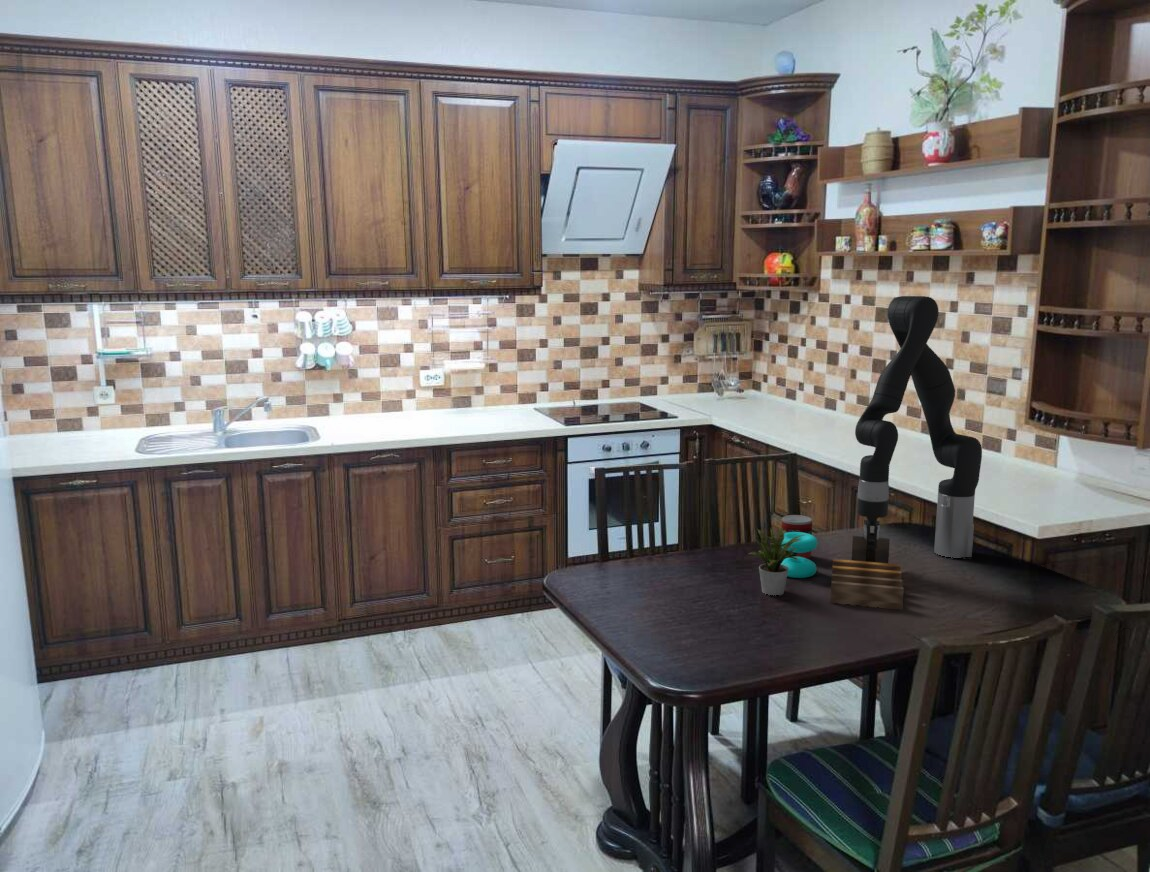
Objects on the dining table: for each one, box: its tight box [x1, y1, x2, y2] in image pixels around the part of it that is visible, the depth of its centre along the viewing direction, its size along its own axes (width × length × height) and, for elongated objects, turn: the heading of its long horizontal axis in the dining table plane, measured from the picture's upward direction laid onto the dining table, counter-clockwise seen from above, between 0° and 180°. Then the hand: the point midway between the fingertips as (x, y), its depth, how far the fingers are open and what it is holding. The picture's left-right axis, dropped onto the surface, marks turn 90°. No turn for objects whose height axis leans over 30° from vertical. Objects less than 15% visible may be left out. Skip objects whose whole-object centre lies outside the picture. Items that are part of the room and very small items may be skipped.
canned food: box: [780, 514, 813, 560], centre depth 247 cm, size 8×8×11 cm
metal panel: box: [851, 533, 891, 563], centre depth 234 cm, size 9×2×10 cm, turn 73°
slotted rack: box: [830, 558, 905, 611], centre depth 220 cm, size 16×17×5 cm
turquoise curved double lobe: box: [780, 532, 819, 579], centre depth 235 cm, size 10×10×10 cm
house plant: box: [748, 526, 804, 597], centre depth 220 cm, size 14×14×16 cm
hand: (869, 557), depth 235 cm, fingers open, 8 cm apart
